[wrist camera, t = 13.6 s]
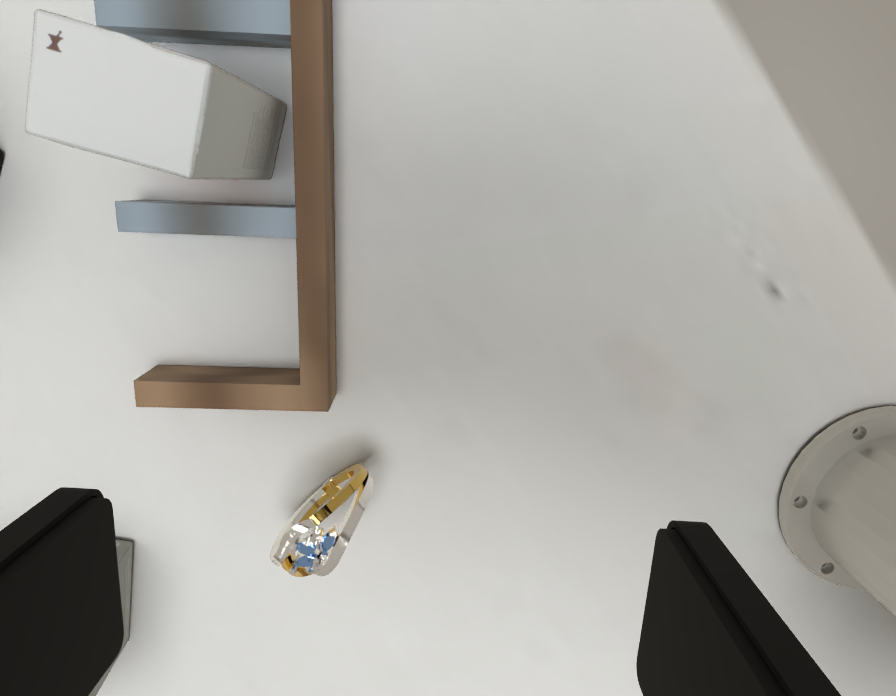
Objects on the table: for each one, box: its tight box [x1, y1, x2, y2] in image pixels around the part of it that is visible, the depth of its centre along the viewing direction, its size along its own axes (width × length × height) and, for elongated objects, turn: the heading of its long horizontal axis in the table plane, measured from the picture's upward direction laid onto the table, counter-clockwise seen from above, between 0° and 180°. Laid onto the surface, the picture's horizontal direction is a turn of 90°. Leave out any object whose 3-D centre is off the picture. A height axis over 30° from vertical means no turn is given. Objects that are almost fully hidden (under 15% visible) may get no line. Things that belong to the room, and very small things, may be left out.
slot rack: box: [94, 0, 336, 412], centre depth 31 cm, size 10×30×3 cm, turn 178°
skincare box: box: [25, 9, 286, 179], centre depth 26 cm, size 6×4×12 cm
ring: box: [270, 464, 374, 577], centre depth 34 cm, size 7×3×8 cm, turn 127°
